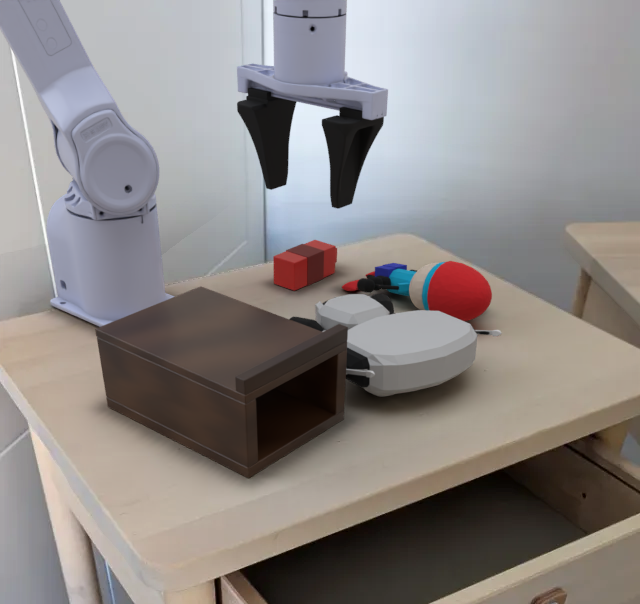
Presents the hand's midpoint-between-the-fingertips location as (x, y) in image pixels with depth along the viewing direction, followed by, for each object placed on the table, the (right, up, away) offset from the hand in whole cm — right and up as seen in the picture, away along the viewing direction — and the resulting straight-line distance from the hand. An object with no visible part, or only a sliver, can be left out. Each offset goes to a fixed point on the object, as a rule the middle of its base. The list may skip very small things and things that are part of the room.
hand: (308, 195), depth 75 cm
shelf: (-6, -22, -14) cm, 26 cm away
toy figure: (+10, -10, +1) cm, 14 cm away
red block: (0, -5, +6) cm, 8 cm away
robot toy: (+6, -17, -8) cm, 20 cm away
